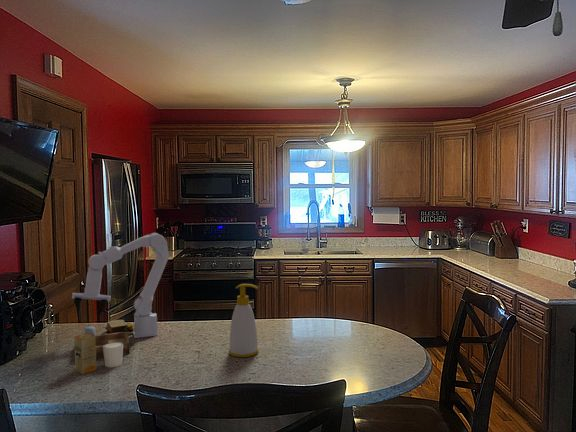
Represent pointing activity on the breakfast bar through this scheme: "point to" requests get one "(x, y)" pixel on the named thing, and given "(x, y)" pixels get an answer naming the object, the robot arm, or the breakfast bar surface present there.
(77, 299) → the robot arm
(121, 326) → the toy sandwich meal
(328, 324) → the breakfast bar surface
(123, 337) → the box with square hole
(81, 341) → the shoe polish box
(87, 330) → the peg
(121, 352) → the white cup
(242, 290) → the soap bottle
